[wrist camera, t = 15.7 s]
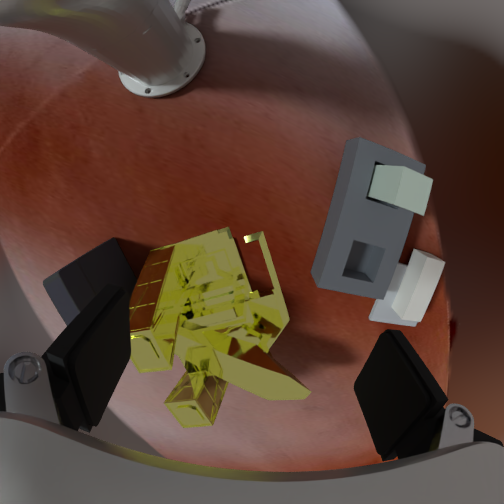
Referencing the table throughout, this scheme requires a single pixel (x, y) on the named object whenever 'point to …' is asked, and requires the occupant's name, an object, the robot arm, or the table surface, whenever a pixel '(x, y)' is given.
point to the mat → (390, 301)
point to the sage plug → (400, 187)
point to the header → (362, 226)
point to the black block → (89, 279)
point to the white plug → (417, 285)
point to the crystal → (209, 325)
